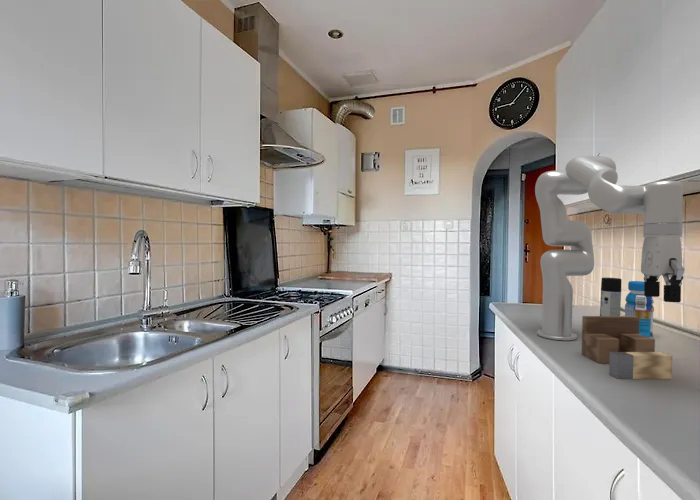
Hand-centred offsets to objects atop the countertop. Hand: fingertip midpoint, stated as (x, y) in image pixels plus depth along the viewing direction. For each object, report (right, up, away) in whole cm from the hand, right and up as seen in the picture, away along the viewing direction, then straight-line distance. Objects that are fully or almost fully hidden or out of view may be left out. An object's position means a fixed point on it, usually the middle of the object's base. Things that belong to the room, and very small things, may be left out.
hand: (661, 299), depth 94 cm
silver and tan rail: (-3, -21, +3) cm, 21 cm away
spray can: (+25, -19, +54) cm, 63 cm away
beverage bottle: (+27, -19, +42) cm, 54 cm away
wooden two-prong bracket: (+1, -20, +17) cm, 27 cm away
